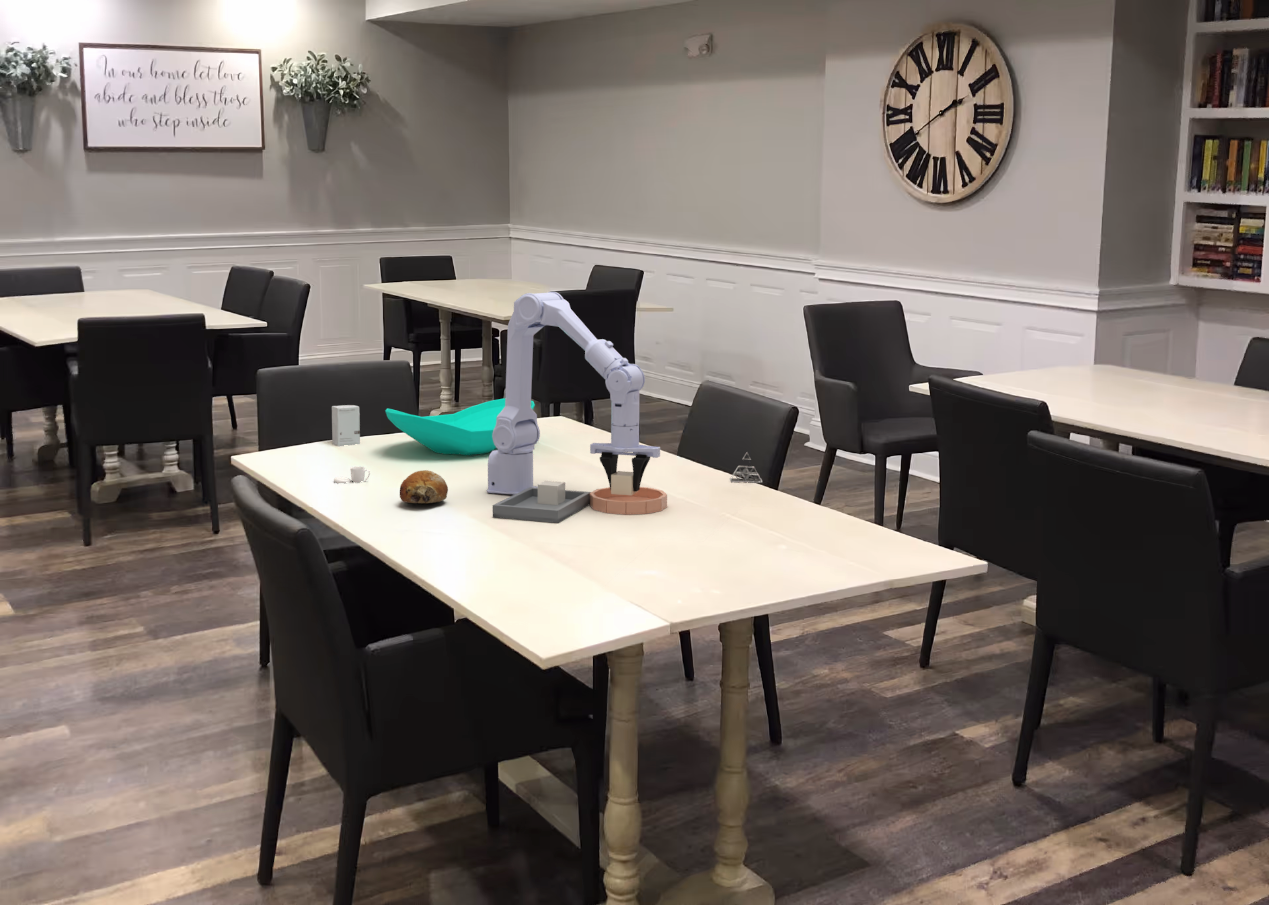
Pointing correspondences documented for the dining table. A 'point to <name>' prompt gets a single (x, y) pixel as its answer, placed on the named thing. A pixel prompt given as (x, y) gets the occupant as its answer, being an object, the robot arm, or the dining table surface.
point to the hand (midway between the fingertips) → (624, 489)
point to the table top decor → (453, 428)
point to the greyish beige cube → (551, 492)
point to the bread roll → (423, 488)
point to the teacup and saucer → (353, 475)
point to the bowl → (628, 501)
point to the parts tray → (540, 506)
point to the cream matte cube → (622, 483)
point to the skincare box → (345, 425)
